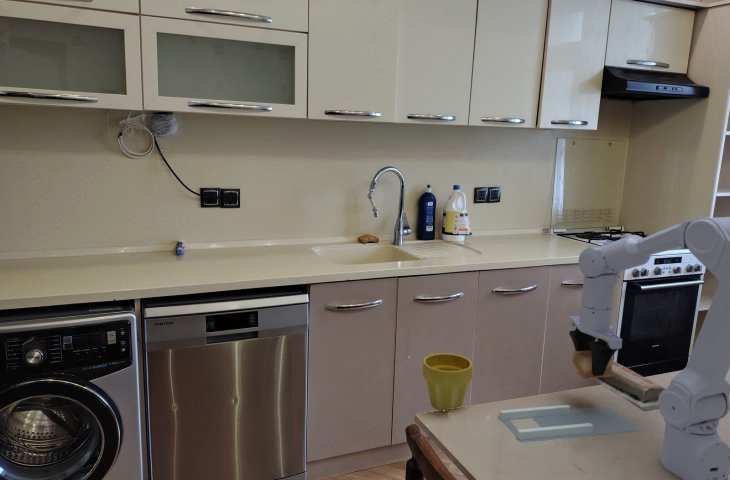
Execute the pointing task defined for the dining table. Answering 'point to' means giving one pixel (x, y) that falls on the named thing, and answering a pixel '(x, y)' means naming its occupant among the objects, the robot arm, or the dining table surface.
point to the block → (587, 365)
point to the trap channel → (566, 422)
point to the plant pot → (447, 379)
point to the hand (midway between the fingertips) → (590, 369)
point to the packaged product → (632, 387)
